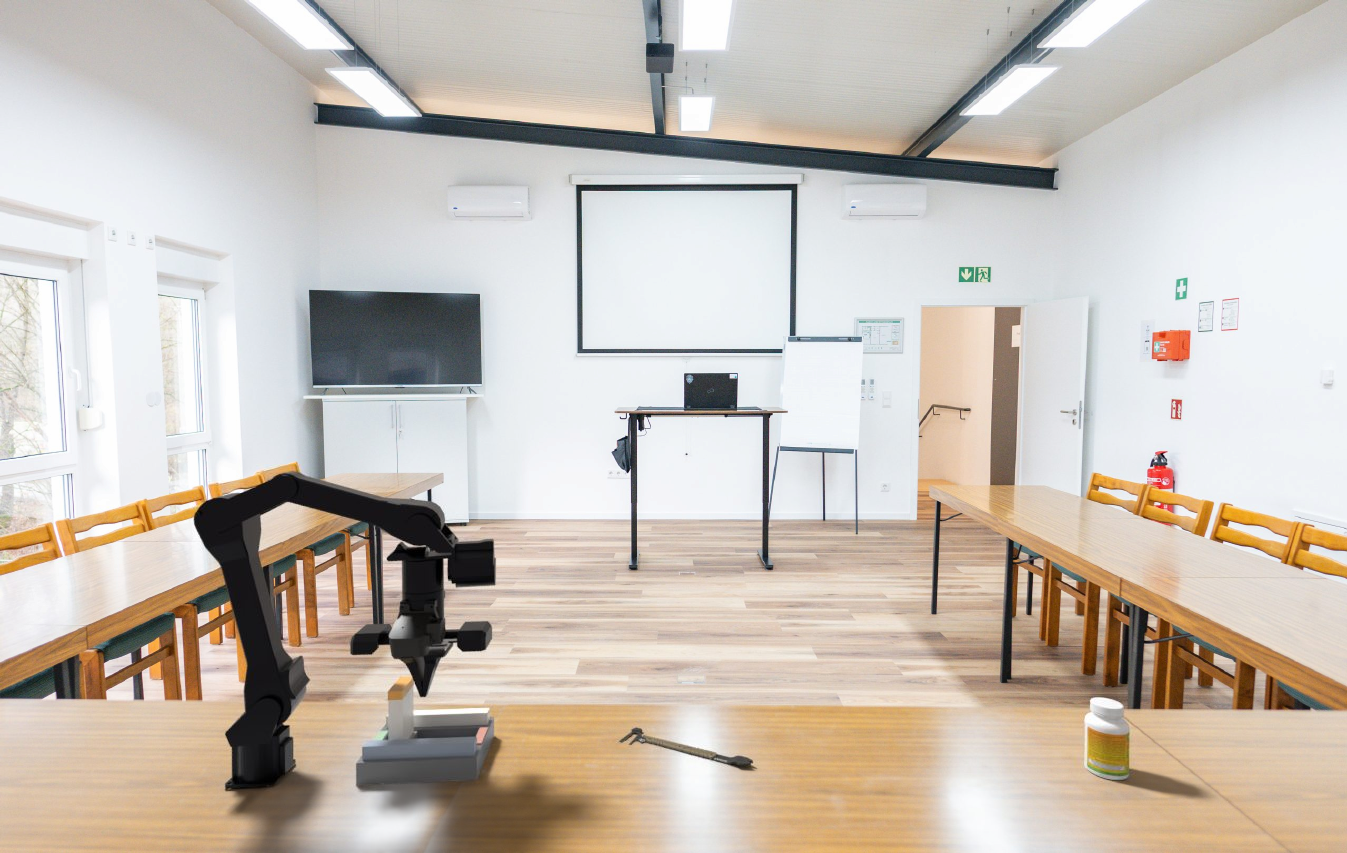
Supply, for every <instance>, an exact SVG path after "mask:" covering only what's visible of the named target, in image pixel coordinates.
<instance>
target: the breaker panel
mask: <svg viewBox="0 0 1347 853" xmlns="http://www.w3.org/2000/svg"><path fill="white" fill-rule="evenodd" d="M490 709H491V708H490V707H477V708H476V707H475V708H474V707H473V708H469V707H468V708H446V709H445V708H444V709H441V708H439V709H414V731H417V733H418V738H417V739H397V740H388V713H387V714H386V715H385V724H384V726H383V727H382V728H381V730H380V731H379V732H378V733H377V735H376V736H375V738H374V739H371V740H370V739H369V740H366V741H365V742H364V744H363V745H362V746H361V747H362V748H361V754H362V755H361V756H360V757H359V759H358V760H356V762H355V786H369V785H372V786H373V785H391V784H392V785H395V784H397V785H398V784H417V783H419V784H421V783H442V782H443V783H446V782H466V781H467V782H468V781H469V782H470V781H477V780H478V778H479V776H480V773H481V770H482V768H483V765H484V763H485V761H486V757H487V755H488V753H489V751H490V748H491V745H492V742H493V740H494V737H495V716H491V715H490V713H491V710H490Z"/></svg>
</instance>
